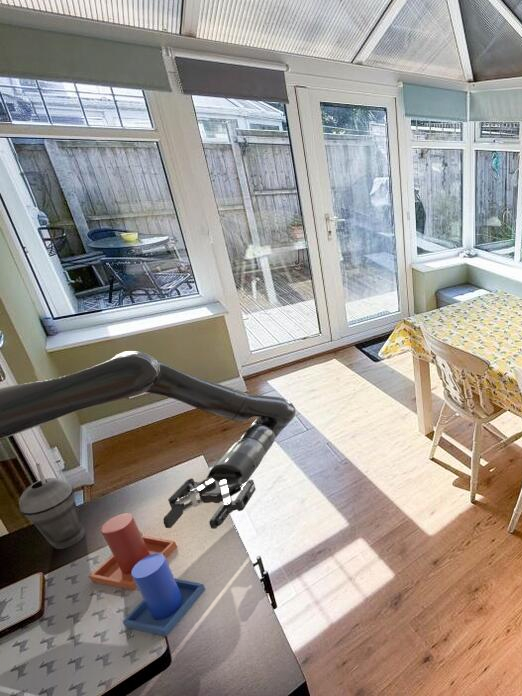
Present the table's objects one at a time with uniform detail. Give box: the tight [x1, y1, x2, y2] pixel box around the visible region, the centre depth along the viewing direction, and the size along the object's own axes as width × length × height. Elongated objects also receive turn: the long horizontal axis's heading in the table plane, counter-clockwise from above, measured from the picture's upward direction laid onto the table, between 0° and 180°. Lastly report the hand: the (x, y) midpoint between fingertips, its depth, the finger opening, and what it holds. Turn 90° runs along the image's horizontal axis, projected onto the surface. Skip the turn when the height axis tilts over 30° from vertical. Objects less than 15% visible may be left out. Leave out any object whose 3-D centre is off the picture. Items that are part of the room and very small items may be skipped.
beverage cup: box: [18, 463, 86, 550], centre depth 80 cm, size 7×7×20 cm
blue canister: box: [131, 553, 183, 620], centre depth 71 cm, size 4×4×11 cm
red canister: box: [100, 512, 150, 574], centre depth 78 cm, size 4×4×11 cm
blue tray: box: [122, 577, 206, 638], centre depth 73 cm, size 8×8×2 cm
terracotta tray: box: [88, 534, 178, 591], centre depth 80 cm, size 9×9×2 cm
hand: (189, 525), depth 78 cm, fingers open, 8 cm apart
